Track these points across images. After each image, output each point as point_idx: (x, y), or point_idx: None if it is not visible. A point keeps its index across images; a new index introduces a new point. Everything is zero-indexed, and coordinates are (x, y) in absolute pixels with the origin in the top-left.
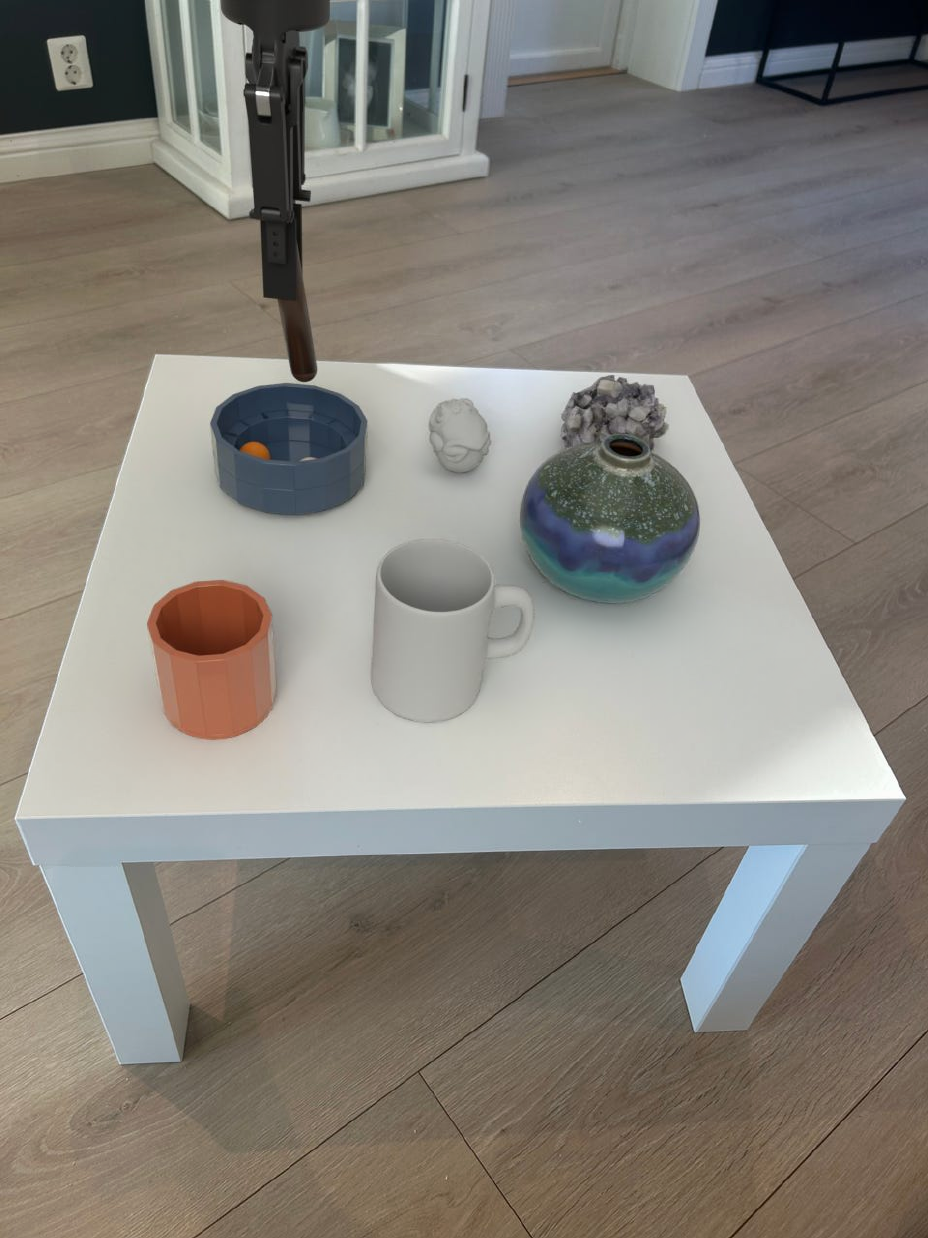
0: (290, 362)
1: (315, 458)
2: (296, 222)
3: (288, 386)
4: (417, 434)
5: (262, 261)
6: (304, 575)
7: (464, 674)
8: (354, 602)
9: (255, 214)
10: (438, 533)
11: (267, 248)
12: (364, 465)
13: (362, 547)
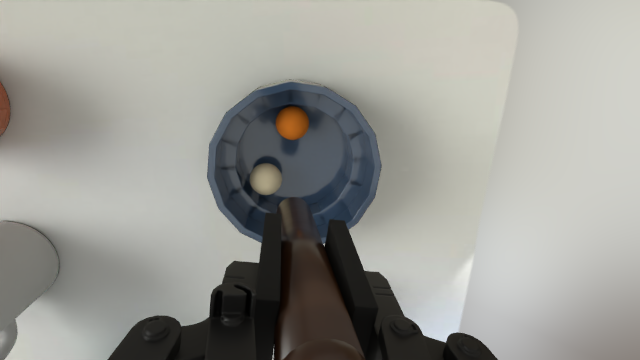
0: (284, 203)
1: (271, 188)
2: None
3: (373, 168)
4: (364, 267)
5: (262, 243)
6: (137, 168)
7: None
8: (105, 209)
9: (130, 330)
10: (210, 276)
11: (223, 279)
12: None
13: (184, 216)
